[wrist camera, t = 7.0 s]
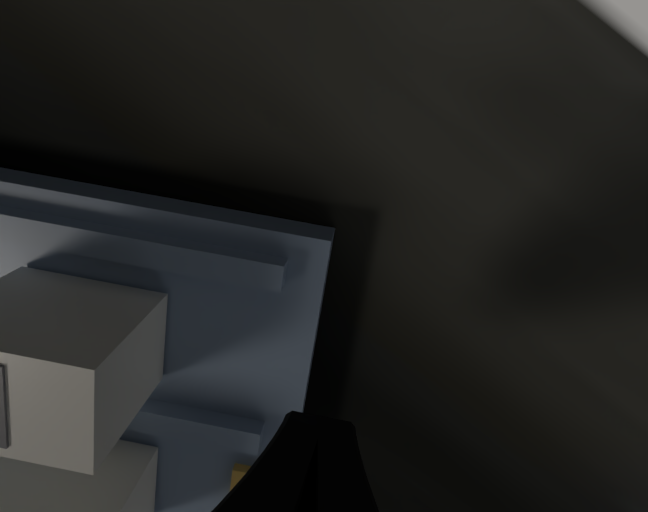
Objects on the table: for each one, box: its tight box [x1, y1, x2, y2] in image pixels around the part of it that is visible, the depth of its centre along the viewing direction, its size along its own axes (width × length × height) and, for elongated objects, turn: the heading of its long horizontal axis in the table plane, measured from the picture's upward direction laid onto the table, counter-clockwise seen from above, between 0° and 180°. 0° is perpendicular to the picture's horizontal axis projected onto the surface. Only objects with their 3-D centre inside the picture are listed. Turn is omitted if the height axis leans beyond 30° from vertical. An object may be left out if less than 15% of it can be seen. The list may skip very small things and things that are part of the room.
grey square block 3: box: [0, 266, 168, 475], centre depth 13 cm, size 3×4×4 cm, turn 81°
